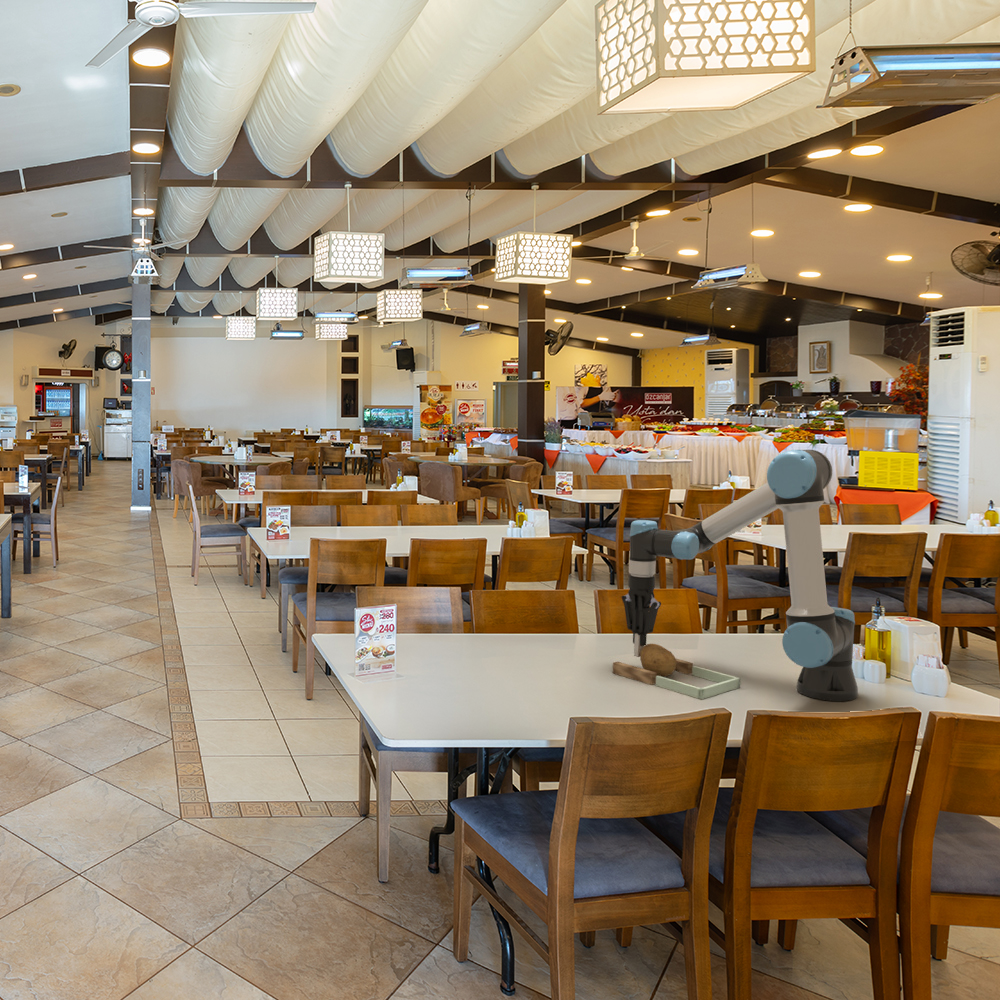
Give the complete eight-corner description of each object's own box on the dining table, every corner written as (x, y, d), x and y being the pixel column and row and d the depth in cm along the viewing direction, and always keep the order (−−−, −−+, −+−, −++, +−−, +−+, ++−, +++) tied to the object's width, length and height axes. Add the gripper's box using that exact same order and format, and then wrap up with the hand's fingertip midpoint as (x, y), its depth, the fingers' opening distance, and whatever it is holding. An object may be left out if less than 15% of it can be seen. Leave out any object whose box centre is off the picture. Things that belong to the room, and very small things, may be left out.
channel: (692, 673, 247) (692, 663, 247) (651, 684, 235) (651, 673, 235) (653, 662, 257) (654, 652, 257) (612, 673, 246) (613, 662, 246)
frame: (740, 687, 234) (740, 678, 234) (701, 699, 223) (702, 689, 223) (694, 674, 246) (694, 665, 246) (655, 685, 235) (656, 676, 235)
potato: (651, 683, 236) (652, 654, 236) (632, 669, 250) (633, 641, 249) (684, 681, 239) (686, 653, 238) (664, 667, 252) (665, 640, 252)
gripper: (668, 576, 245) (665, 658, 248) (633, 570, 255) (630, 649, 257) (651, 579, 241) (648, 663, 243) (615, 572, 250) (613, 653, 253)
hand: (639, 655), depth 250 cm, fingers closed
